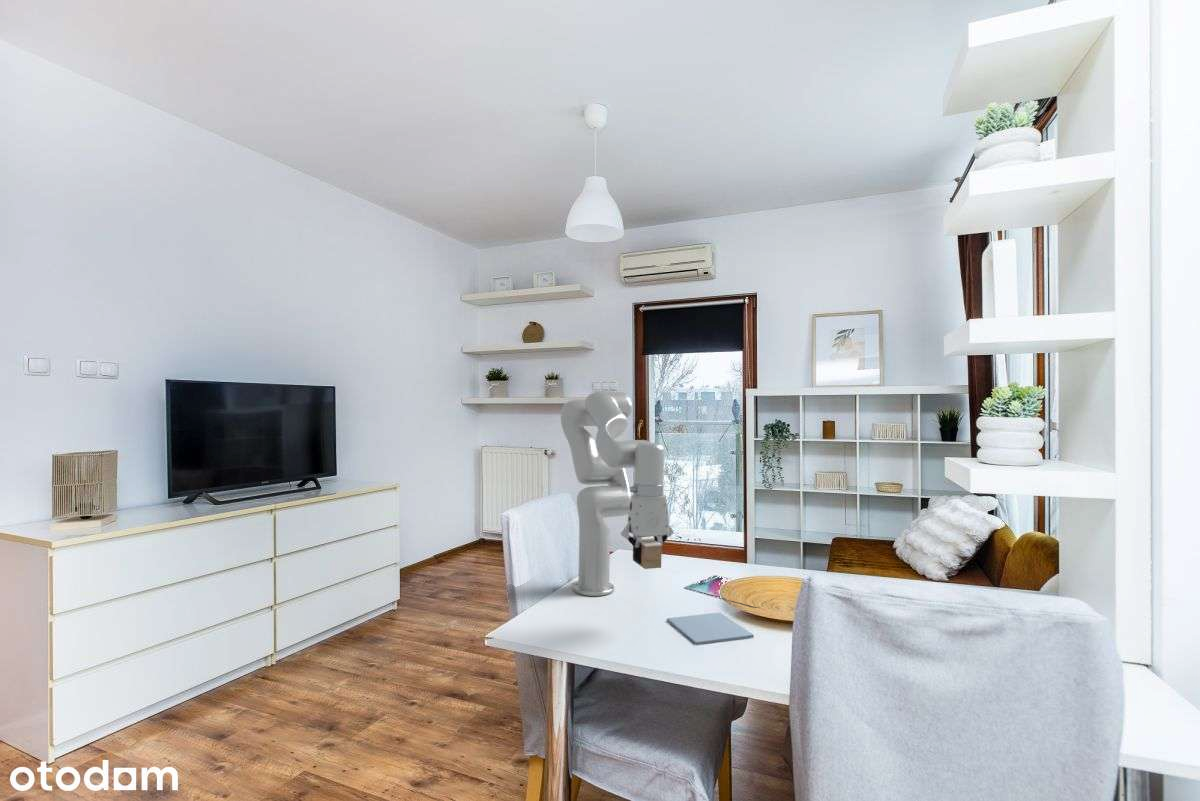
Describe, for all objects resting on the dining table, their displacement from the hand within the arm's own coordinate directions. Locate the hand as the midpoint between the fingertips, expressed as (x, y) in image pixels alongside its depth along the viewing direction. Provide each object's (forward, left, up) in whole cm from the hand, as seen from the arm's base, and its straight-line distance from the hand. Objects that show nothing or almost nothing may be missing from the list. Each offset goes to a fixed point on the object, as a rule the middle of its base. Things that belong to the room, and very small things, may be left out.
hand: (646, 560), depth 149 cm
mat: (+6, +15, -17) cm, 23 cm away
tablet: (-19, +38, -17) cm, 46 cm away
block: (0, 0, -1) cm, 1 cm away
